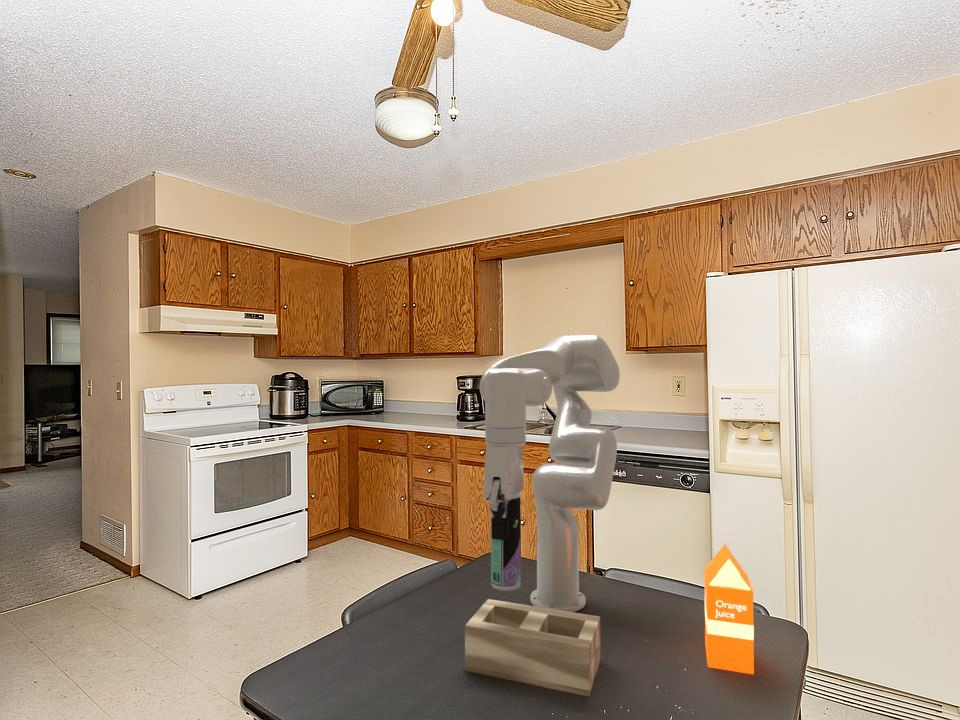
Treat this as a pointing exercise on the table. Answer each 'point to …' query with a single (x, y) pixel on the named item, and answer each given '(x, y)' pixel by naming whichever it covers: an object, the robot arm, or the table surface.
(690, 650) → the table surface
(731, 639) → the orange juice
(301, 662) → the table surface
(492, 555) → the spray can
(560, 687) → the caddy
